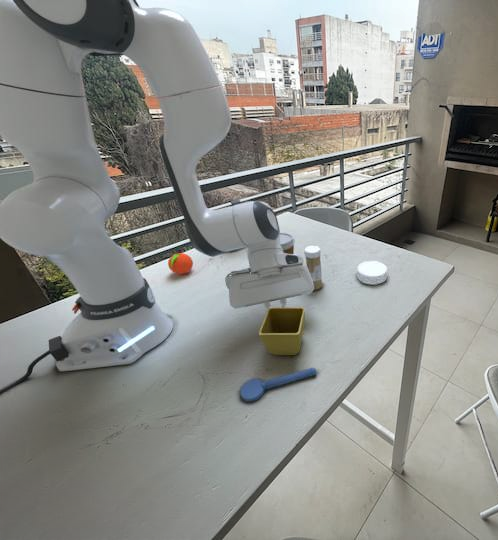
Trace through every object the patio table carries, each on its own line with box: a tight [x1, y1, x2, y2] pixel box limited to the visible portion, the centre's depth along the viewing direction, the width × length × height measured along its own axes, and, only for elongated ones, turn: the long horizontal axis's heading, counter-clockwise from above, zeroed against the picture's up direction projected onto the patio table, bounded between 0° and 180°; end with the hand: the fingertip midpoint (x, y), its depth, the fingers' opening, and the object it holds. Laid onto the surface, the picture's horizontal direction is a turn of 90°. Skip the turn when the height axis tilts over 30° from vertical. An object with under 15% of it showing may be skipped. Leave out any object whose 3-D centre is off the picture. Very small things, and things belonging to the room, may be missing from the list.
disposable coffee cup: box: [279, 232, 295, 255], centre depth 94 cm, size 10×10×12 cm
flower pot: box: [258, 306, 306, 356], centre depth 66 cm, size 9×9×9 cm
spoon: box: [239, 367, 317, 403], centre depth 60 cm, size 16×5×2 cm, turn 111°
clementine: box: [167, 252, 194, 275], centre depth 93 cm, size 8×7×7 cm
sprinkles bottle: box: [304, 245, 323, 291], centre depth 86 cm, size 5×5×13 cm
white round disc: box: [356, 260, 388, 286], centre depth 94 cm, size 10×10×4 cm
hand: (278, 318), depth 70 cm, fingers closed
